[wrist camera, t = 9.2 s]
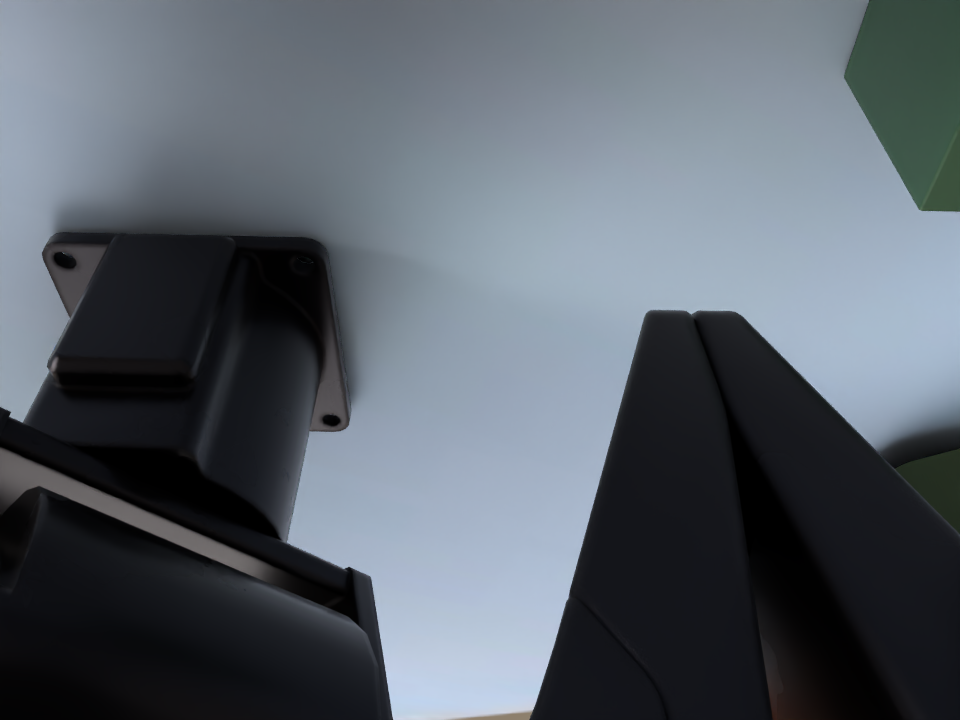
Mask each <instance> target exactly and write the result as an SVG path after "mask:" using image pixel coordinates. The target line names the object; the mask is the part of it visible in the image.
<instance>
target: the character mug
mask: <svg viewBox="0 0 960 720" xmlns="http://www.w3.org/2000/svg"><path fill="white" fill-rule="evenodd" d="M895 470H896V471H897V472H898V473H899V474H900V475H901V476H902V477H903V478H904V479H905V480H906V481H907V482H908V483H909V484H910V485H911V486H912V487H913V488H914V489H915V490H916V491H917V492H918V493H919V494H920V495H921V496H922V497H923V498H924V499H925V500H926V501H927V502H928V503H929V504H930V505H931V506H932V507H933V508H934V509H935V510H936V511H937V512H938V513H939V514H940V515H941V516H942V517H943V518H944V519H945V520H946V521H947V522H948V523H949V524H950V525H951V526H952V527H953V528H954V529H955V530H956V531H957V532H958V533H959V534H960V449H957V450H953V451H949V452H945V453H941V454H937V455H933V456H930V457H926V458H922V459H918V460H914V461H910V462H908V463H906V464H903V465H901V466H899V467H897V468H895Z"/></svg>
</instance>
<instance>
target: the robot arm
mask: <svg viewBox="0 0 960 720" xmlns="http://www.w3.org/2000/svg"><path fill="white" fill-rule="evenodd" d="M62 252H65V253H68V254H70V255H72V256H73V257H74V258H71V257H68V256H66V255H65V254H63V253H62ZM42 256H43V260H44V263H45V265H46V267H47V269H48V271H49V274H50V276H51V278H52V280H53V282H54V284H55V287H56V289H57V291H58V293H59V295H60V298H61V300H62V302H63V304H64V306H65V308H66V311H67V313H68V315H69V317H70V320H69V321H68V323H67V325H66V327H65V329H64V331H63V333H62V335H61V337H60V339H59V341H58V343H57V345H56V346H55V348H54V350H53V352H52V354H51V356H50V358H49V360H48V364H47V367H48V369H49V373H48V375H47V377H46V379H45V381H44V382H43V384H42V386H41V388H40V390H39V392H38V394H37V396H36V398H35V400H34V402H33V404H32V406H31V408H30V410H29V412H28V414H27V416H26V418H25V420H24V422H23V423H22V422H20V421H17V420H15V419H13V418H11V417H9V415H10V413H11V412H10V411H8V410H5V409H3V408H1V407H0V720H393V717H392V711H391V704H390V698H389V691H388V685H387V678H386V672H385V665H384V659H383V652H382V646H381V639H380V633H379V626H378V620H377V613H376V607H375V600H374V594H373V587H372V581H371V578H370V576H368V575H366V574H363V573H361V572H359V571H357V570H355V569H353V568H350V567H348V568H345V569H343V568H341V567H338V566H336V565H334V564H332V563H330V562H327V561H325V560H323V559H321V558H319V557H316V556H314V555H312V554H310V553H308V552H305V551H303V550H301V549H299V548H297V547H294V546H292V545H290V544H288V543H287V539H288V534H289V529H290V524H291V519H292V515H293V510H294V505H295V500H296V495H297V490H298V485H299V481H300V476H301V471H302V466H303V461H304V456H305V451H306V447H307V442H308V437H309V432H310V431H321V432H336V431H341V430H344V429H346V428H347V427H348V425H349V421H350V415H351V404H350V398H349V391H348V384H347V378H346V371H345V364H344V357H343V351H342V344H341V337H340V331H339V324H338V317H337V311H336V304H335V297H334V291H333V284H332V277H331V270H330V264H329V257H328V253H327V251H326V249H325V247H324V246H323V245H322V244H321V243H319V242H317V241H315V240H313V239H309V238H303V237H257V236H216V235H169V234H123V233H121V234H117V233H71V232H63V233H56V234H55V235H53V236H52V237H50V239H49V241H48V242H47V244H46V246H45V247H44V250H43V252H42ZM299 257H305V258H309V259H310V260H312V261H313V263H304V262H302V261H300V260H299V259H298V258H299ZM330 414H332V415H330ZM530 720H960V534H959V533H958V532H957V531H956V530H955V529H954V528H953V527H952V526H951V525H950V524H949V523H948V522H947V521H946V520H945V519H944V518H943V517H942V516H941V515H940V514H939V513H938V512H937V511H936V510H935V509H934V508H933V507H932V506H931V505H930V504H929V503H928V502H927V501H926V500H925V499H924V498H923V497H922V496H921V495H920V494H919V493H918V492H917V491H916V490H915V489H914V488H913V487H912V486H911V485H910V484H909V483H908V482H907V481H906V480H905V479H904V478H903V477H902V476H901V475H900V474H899V473H898V472H897V471H896V470H895V469H894V468H893V467H892V466H891V465H890V464H889V463H888V462H887V461H886V460H885V459H884V458H883V457H882V456H881V455H880V454H879V453H878V452H877V451H876V450H875V449H874V448H873V447H872V446H871V445H870V444H869V443H868V442H867V441H866V440H865V439H864V438H863V437H862V436H861V435H860V434H859V433H858V432H857V431H856V430H855V429H854V428H853V427H852V426H851V425H850V424H849V423H848V422H847V421H846V420H845V419H844V418H843V417H842V416H841V415H840V414H839V413H838V412H837V411H836V410H835V409H834V408H833V407H832V406H831V405H830V404H829V403H828V402H827V401H826V400H825V399H824V398H823V397H822V396H821V395H820V394H819V393H818V392H817V391H816V390H815V389H814V388H813V387H812V386H811V385H810V384H809V383H808V382H807V381H806V380H805V379H804V378H803V377H802V376H801V375H800V374H799V373H798V372H797V371H796V370H795V369H794V368H793V367H792V366H791V365H790V364H789V363H788V362H787V361H786V360H785V359H784V358H783V357H782V356H781V355H780V354H779V353H778V352H777V351H776V350H775V349H774V348H773V347H772V346H771V345H770V344H769V343H768V342H767V341H766V340H765V339H764V338H763V337H762V336H761V335H760V334H759V333H758V332H757V331H756V330H755V329H754V328H753V327H752V326H751V325H750V324H749V323H748V322H747V320H746V319H745V318H744V317H742V316H741V315H740V314H738V313H736V312H732V311H697V312H695V313H693V314H692V315H691V314H690V313H688V312H687V311H683V310H650V311H648V312H647V313H646V315H645V317H644V320H643V324H642V328H641V331H640V335H639V339H638V342H637V346H636V350H635V353H634V357H633V361H632V364H631V368H630V372H629V375H628V379H627V383H626V386H625V390H624V394H623V397H622V401H621V405H620V408H619V412H618V416H617V419H616V423H615V427H614V430H613V434H612V438H611V441H610V445H609V449H608V452H607V456H606V460H605V464H604V467H603V471H602V475H601V478H600V482H599V486H598V489H597V493H596V497H595V500H594V504H593V508H592V511H591V515H590V519H589V522H588V526H587V530H586V533H585V537H584V541H583V544H582V548H581V552H580V555H579V559H578V563H577V566H576V570H575V574H574V577H573V581H572V585H571V588H570V593H569V599H568V600H567V602H566V605H565V608H564V612H563V616H562V619H561V623H560V627H559V630H558V634H557V638H556V641H555V645H554V648H553V651H552V654H551V657H550V660H549V664H548V667H547V670H546V673H545V676H544V679H543V683H542V686H541V689H540V692H539V695H538V698H537V702H536V704H535V707H534V709H533V712H532V715H531V717H530Z"/></svg>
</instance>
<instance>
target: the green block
mask: <svg viewBox="0 0 960 720" xmlns="http://www.w3.org/2000/svg"><path fill="white" fill-rule="evenodd" d="M844 78H845V80H846V82H847V84H848V86H849V87H850V89H851V91H852V93H853V94H854V96H855V98H856V100H857V101H858V103H859V105H860V107H861V108H862V110H863V112H864V114H865V115H866V117H867V119H868V121H869V122H870V124H871V126H872V128H873V129H874V131H875V133H876V135H877V137H878V138H879V140H880V142H881V144H882V145H883V147H884V149H885V151H886V152H887V154H888V156H889V158H890V159H891V161H892V163H893V165H894V166H895V168H896V170H897V172H898V173H899V175H900V177H901V179H902V181H903V182H904V184H905V186H906V188H907V189H908V191H909V193H910V195H911V196H912V198H913V200H914V202H915V203H916V205H917V207H918V209H919V210H921V211H955V212H960V0H870V1H869V4H868V7H867V10H866V13H865V16H864V19H863V22H862V25H861V28H860V31H859V34H858V37H857V39H856V42H855V45H854V48H853V51H852V54H851V57H850V60H849V63H848V66H847V69H846V72H845V75H844Z"/></svg>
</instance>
